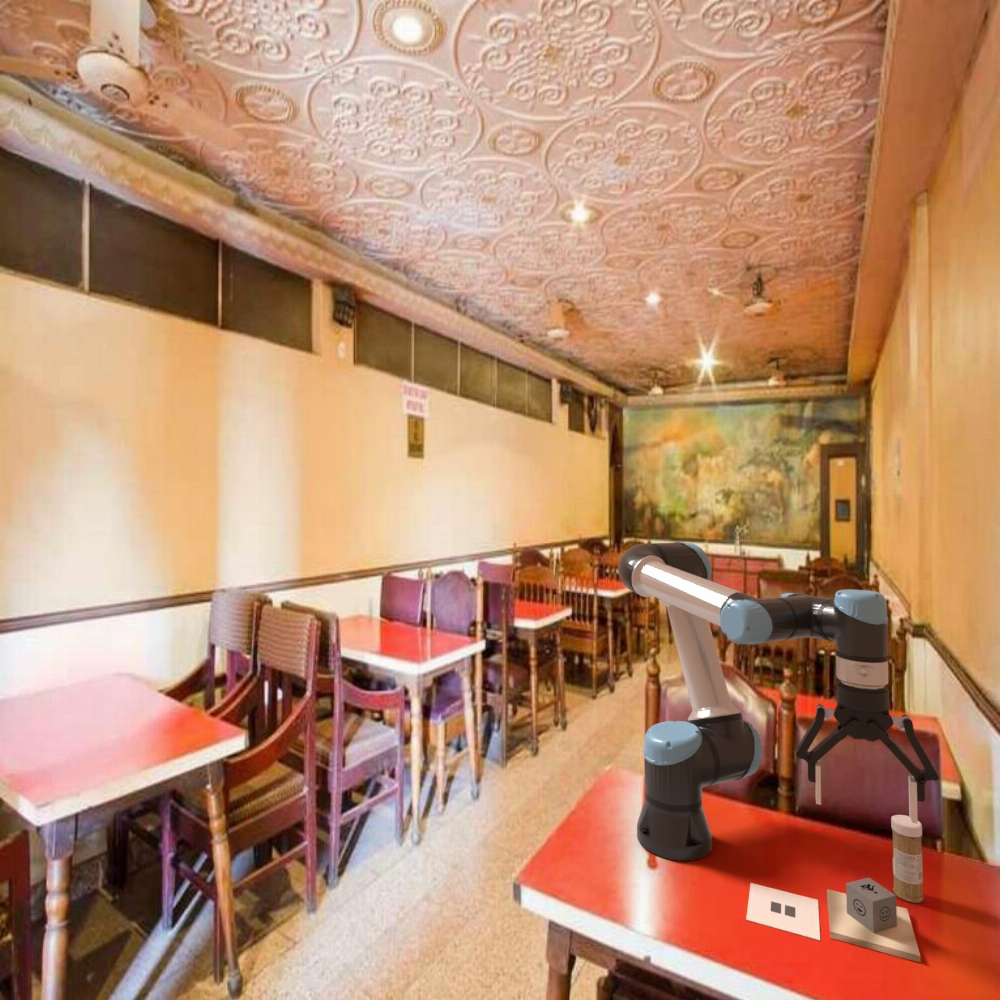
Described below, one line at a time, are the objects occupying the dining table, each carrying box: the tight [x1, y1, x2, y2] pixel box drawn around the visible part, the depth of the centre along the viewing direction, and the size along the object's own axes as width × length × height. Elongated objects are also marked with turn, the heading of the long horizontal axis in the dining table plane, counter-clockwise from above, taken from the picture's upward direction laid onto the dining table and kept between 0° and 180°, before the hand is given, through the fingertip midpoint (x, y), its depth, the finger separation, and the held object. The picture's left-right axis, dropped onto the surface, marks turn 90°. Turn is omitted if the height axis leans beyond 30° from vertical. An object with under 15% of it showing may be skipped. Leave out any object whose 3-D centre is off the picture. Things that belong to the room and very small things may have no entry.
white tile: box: [745, 882, 821, 941], centre depth 102 cm, size 11×11×1 cm
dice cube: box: [845, 877, 897, 933], centre depth 98 cm, size 5×5×5 cm
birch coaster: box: [826, 888, 922, 963], centre depth 97 cm, size 12×12×1 cm
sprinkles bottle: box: [890, 814, 925, 904], centre depth 105 cm, size 5×5×14 cm
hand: (864, 810), depth 98 cm, fingers open, 13 cm apart
